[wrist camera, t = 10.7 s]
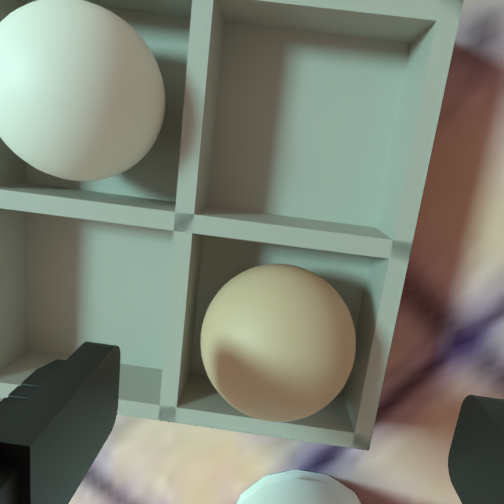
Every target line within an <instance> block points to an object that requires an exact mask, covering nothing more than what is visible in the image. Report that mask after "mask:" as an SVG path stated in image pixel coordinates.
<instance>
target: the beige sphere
mask: <svg viewBox="0 0 504 504" xmlns="http://www.w3.org/2000/svg"><path fill="white" fill-rule="evenodd" d="M355 351H356V335H355V329H354V325H353V321H352V318H351V315H350V312H349V310H348V308H347V306H346V304H345V303H344V301H343V300H342V298H341V297H340V295H339V294H338V292H337V291H336V290H335V289H334V288H333V287H332V286H331V285H330V284H329V283H328V282H327V281H325V280H324V279H323V278H321V277H320V276H318V275H317V274H315V273H313V272H311V271H309V270H307V269H304V268H301V267H298V266H294V265H289V264H266V265H260V266H257V267H254V268H250V269H248V270H246V271H244V272H242V273H240V274H238V275H237V276H235V277H234V278H232V279H231V280H230V281H228V282H227V283H226V284H225V285H224V286H223V287H222V288H221V289H220V290H219V291H218V293H217V294H216V295H215V297H214V298H213V300H212V301H211V303H210V305H209V307H208V309H207V311H206V314H205V317H204V320H203V324H202V330H201V355H202V360H203V364H204V367H205V370H206V372H207V375H208V377H209V379H210V381H211V383H212V384H213V386H214V387H215V389H216V390H217V391H218V393H219V394H220V395H221V396H222V397H223V398H224V399H225V400H226V401H227V402H228V403H229V404H230V405H231V406H233V407H234V408H235V409H237V410H239V411H240V412H242V413H244V414H246V415H248V416H250V417H253V418H256V419H260V420H264V421H270V422H288V421H294V420H298V419H302V418H305V417H308V416H310V415H312V414H314V413H316V412H318V411H320V410H321V409H323V408H324V407H325V406H327V405H328V404H329V403H330V402H331V401H332V400H333V399H334V398H335V397H336V396H337V395H338V393H339V392H340V391H341V390H342V388H343V387H344V385H345V383H346V382H347V379H348V377H349V375H350V372H351V370H352V367H353V363H354V359H355Z"/></svg>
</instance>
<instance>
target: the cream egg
mask: <svg viewBox="0 0 504 504" xmlns="http://www.w3.org/2000/svg"><path fill="white" fill-rule="evenodd" d="M164 114H165V89H164V83H163V79H162V75H161V72H160V69H159V66H158V64H157V61H156V59H155V57H154V55H153V53H152V52H151V50H150V49H149V47H148V46H147V44H146V43H145V41H144V40H143V39H142V38H141V36H140V35H139V34H138V33H137V32H136V31H135V30H134V29H133V28H132V27H131V26H130V25H129V24H128V23H127V22H126V21H124V20H123V19H121V18H120V17H118V16H117V15H116V14H114V13H112V12H111V11H109V10H107V9H105V8H103V7H101V6H99V5H96V4H93V3H90V2H87V1H84V0H37V1H33V2H31V3H28V4H26V5H24V6H22V7H19V8H18V9H16V10H15V11H13V12H11V13H10V14H9V15H8V16H6V17H5V18H4V19H3V20H2V21H1V22H0V137H1V139H2V140H3V141H4V142H5V144H6V145H7V146H8V147H9V148H10V149H11V150H12V151H13V152H14V153H15V154H16V155H18V156H19V157H20V158H21V159H22V160H24V161H25V162H27V163H28V164H30V165H32V166H33V167H35V168H36V169H38V170H40V171H43V172H45V173H47V174H50V175H53V176H56V177H59V178H63V179H68V180H74V181H95V180H101V179H106V178H110V177H113V176H115V175H118V174H121V173H123V172H124V171H126V170H128V169H130V168H131V167H133V166H134V165H135V164H137V163H138V162H139V161H140V160H141V159H142V158H143V157H144V156H145V155H146V154H147V153H148V152H149V150H150V149H151V148H152V146H153V145H154V143H155V141H156V139H157V138H158V135H159V133H160V130H161V127H162V124H163V120H164Z"/></svg>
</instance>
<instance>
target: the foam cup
mask: <svg viewBox="0 0 504 504" xmlns="http://www.w3.org/2000/svg"><path fill="white" fill-rule="evenodd" d="M237 504H361V502H360V500H359V499H358V497H357V495H356V494H355V492H354V491H352V490H351V489H349V488H348V487H346V486H345V485H343V484H341V483H340V482H338V481H337V480H335V479H334V478H332V477H331V476H329V475H326V474H320V473H314V472H308V471H302V470H297V469H295V470H291V471H286V472H282V473H277V474H273V475H268V476H264V477H263V478H262V479H260V480H259V481H258V482H256V483H255V484H254V485H253V486H251V487H250V488H249V489H247V490H246V491H245V492H243V493H242V494H241V496H240V498H239V500H238V502H237Z"/></svg>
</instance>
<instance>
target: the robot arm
mask: <svg viewBox="0 0 504 504" xmlns="http://www.w3.org/2000/svg"><path fill="white" fill-rule="evenodd" d="M120 355H121V354H120V348H119V346H117V345H110V344H102V343H95V342H88V341H86V342H84V343H83V344H82V345H81V346H80V347H79V348H78V349H77V350H76V351H75V352H74V353H73V354H72V355H71V356H70V357H69V358H68V359H67V360H60V359H57V360H55V361H53V362H51V363H49V364H47V365H45V366H42V367H40V368H38V369H36V370H35V371H34V372H33V373H32V374H31V375H30V376H28V377H27V378H26V379H25V380H24V381H23V382H22V383H21V386H17V387H16V388H15V389H14V390H13V391H12V392H11V393H10V394H9V395H8V398H6V397H5V398H4V399H3V400H2V401H1V402H0V504H68V503H69V502H70V500H71V498H72V497H73V495H74V493H75V492H76V490H77V488H78V487H79V485H80V483H81V482H82V480H83V478H84V477H85V475H86V473H87V472H88V470H89V468H90V467H91V465H92V463H93V462H94V460H95V458H96V457H97V455H98V453H99V451H100V450H101V448H102V446H103V445H104V443H105V441H106V440H107V438H108V436H109V435H110V433H111V431H112V428H113V426H114V423H115V419H116V415H117V410H118V398H119V378H120ZM448 468H449V475H450V479H451V482H452V484H453V487H454V488H455V490H456V492H457V494H458V496H459V498H460V500H461V502H462V504H504V400H503V399H496V398H489V397H481V396H474V395H469V396H467V397H466V398H465V399H464V401H463V403H462V406H461V410H460V414H459V418H458V421H457V425H456V429H455V433H454V436H453V440H452V444H451V448H450V452H449V458H448Z"/></svg>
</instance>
